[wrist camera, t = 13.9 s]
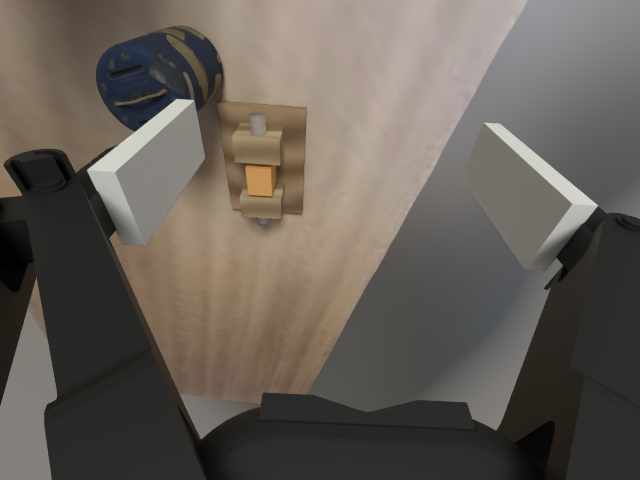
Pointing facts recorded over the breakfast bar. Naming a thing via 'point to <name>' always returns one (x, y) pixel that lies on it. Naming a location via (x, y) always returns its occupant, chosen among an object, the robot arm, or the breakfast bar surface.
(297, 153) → the shaft bench
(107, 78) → the canister
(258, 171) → the orange rectangular block
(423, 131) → the breakfast bar surface
